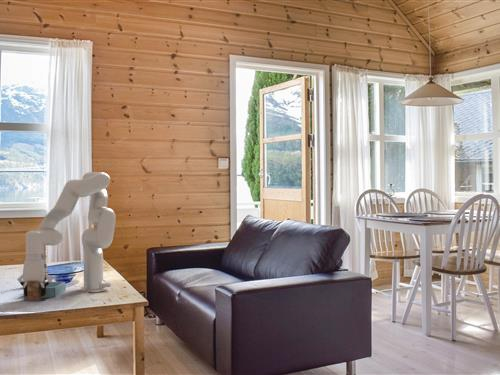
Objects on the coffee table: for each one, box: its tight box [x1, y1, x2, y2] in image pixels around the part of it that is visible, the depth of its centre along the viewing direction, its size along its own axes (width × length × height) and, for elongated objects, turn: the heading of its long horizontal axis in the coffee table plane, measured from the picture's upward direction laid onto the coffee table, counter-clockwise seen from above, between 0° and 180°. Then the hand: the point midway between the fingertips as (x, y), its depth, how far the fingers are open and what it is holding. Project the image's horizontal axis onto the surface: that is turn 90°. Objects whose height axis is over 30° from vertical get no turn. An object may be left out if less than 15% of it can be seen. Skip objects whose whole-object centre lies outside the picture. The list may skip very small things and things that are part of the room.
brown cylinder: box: [26, 281, 44, 302], centre depth 234 cm, size 5×5×9 cm
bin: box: [22, 281, 67, 298], centre depth 245 cm, size 15×13×6 cm
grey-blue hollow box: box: [20, 297, 50, 302], centre depth 234 cm, size 11×7×5 cm, turn 89°
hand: (35, 295), depth 234 cm, fingers open, 6 cm apart
